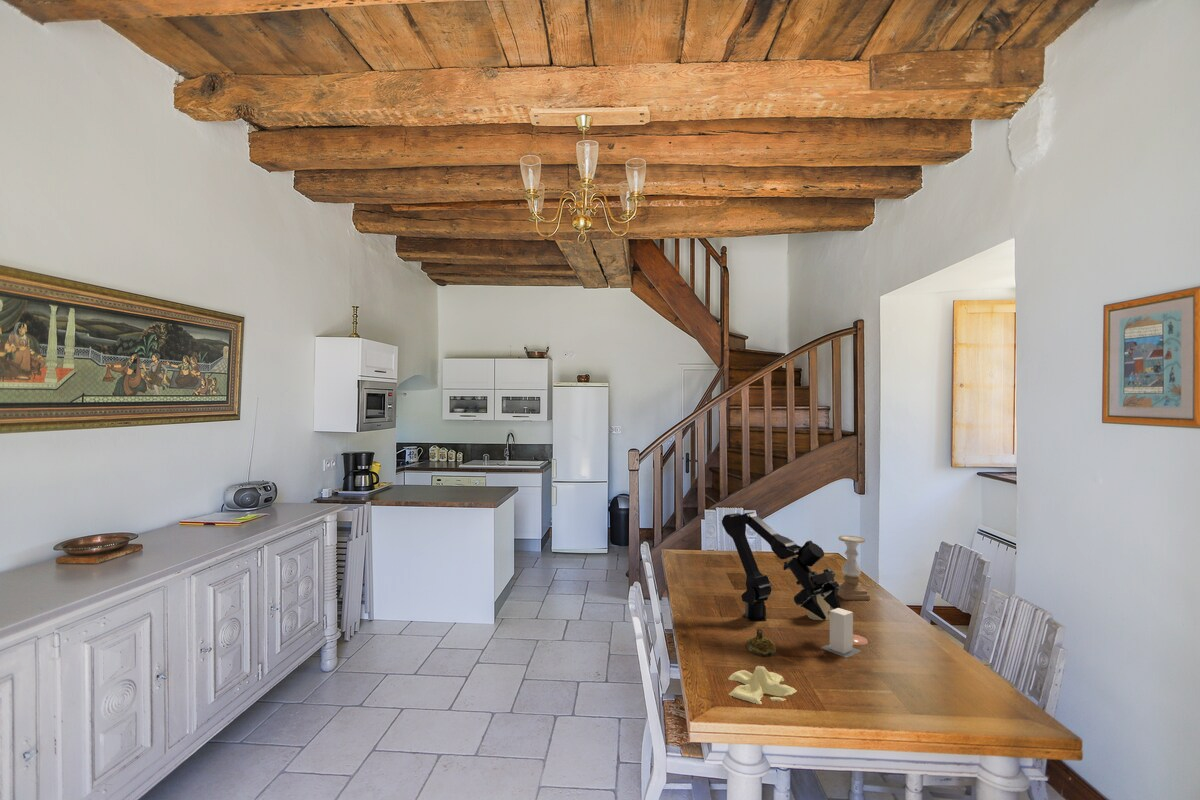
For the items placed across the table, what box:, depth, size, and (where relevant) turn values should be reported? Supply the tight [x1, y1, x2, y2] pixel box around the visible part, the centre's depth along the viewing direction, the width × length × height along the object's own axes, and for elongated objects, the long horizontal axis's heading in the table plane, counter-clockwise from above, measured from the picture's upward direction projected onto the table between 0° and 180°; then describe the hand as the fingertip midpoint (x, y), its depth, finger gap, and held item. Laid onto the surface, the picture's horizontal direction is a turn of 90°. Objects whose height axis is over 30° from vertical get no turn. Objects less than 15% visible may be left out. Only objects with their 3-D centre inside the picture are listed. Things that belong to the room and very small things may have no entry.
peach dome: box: [853, 633, 869, 646], centre depth 191 cm, size 9×9×1 cm
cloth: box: [728, 665, 798, 705], centre depth 158 cm, size 22×19×6 cm
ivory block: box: [829, 607, 854, 654], centre depth 184 cm, size 5×5×12 cm
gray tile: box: [820, 643, 862, 659], centre depth 183 cm, size 9×9×1 cm
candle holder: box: [837, 535, 871, 601], centre depth 239 cm, size 11×11×24 cm
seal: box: [745, 627, 777, 658], centre depth 185 cm, size 9×5×15 cm
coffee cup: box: [806, 586, 831, 621], centre depth 213 cm, size 9×9×12 cm
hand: (833, 616), depth 186 cm, fingers open, 9 cm apart
